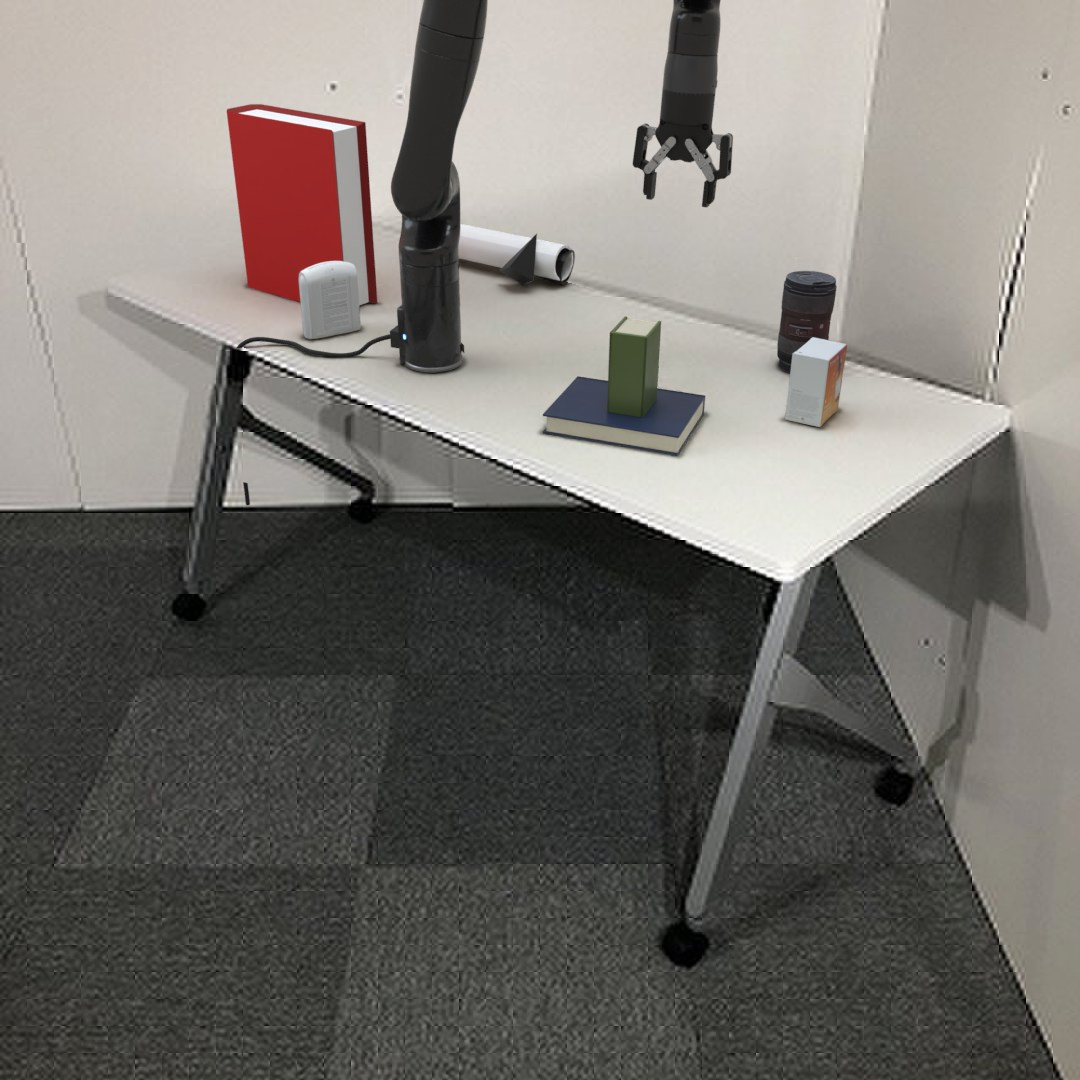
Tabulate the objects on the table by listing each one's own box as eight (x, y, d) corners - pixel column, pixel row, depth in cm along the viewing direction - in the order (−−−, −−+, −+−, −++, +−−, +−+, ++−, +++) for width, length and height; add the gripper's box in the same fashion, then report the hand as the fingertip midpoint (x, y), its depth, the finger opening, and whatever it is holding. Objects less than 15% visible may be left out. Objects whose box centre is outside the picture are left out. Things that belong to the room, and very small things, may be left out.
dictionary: (606, 412, 171) (609, 332, 165) (621, 393, 177) (624, 316, 171) (643, 417, 170) (647, 337, 164) (656, 399, 175) (661, 320, 169)
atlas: (542, 433, 172) (542, 414, 171) (577, 394, 184) (577, 376, 183) (677, 455, 166) (678, 436, 164) (704, 414, 178) (705, 395, 177)
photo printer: (354, 323, 210) (348, 254, 204) (365, 330, 207) (360, 260, 201) (299, 334, 206) (292, 264, 199) (310, 342, 202) (303, 271, 196)
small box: (820, 428, 174) (829, 360, 168) (783, 420, 176) (791, 352, 171) (839, 409, 180) (848, 343, 174) (803, 401, 182) (812, 335, 177)
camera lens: (835, 371, 192) (848, 280, 185) (794, 380, 189) (806, 288, 182) (804, 354, 199) (816, 266, 191) (764, 362, 196) (774, 273, 188)
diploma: (426, 270, 247) (390, 243, 235) (442, 228, 247) (407, 199, 236) (568, 303, 230) (536, 275, 218) (585, 258, 230) (554, 227, 218)
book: (377, 303, 219) (365, 122, 203) (346, 315, 214) (331, 129, 198) (274, 275, 233) (255, 103, 217) (243, 285, 228) (221, 110, 212)
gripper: (633, 85, 169) (624, 201, 177) (732, 95, 164) (718, 214, 172) (649, 78, 175) (639, 191, 183) (744, 88, 171) (731, 203, 178)
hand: (678, 202), depth 177 cm, fingers open, 8 cm apart
